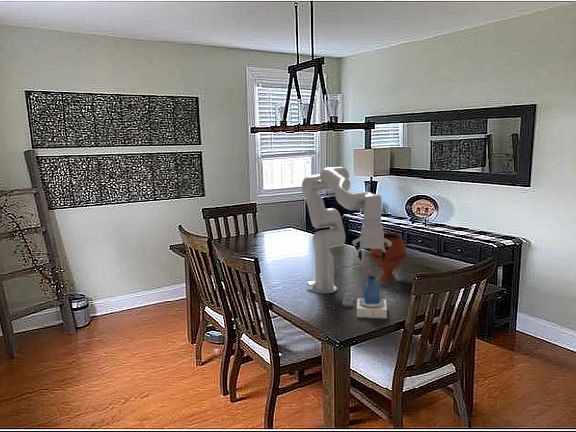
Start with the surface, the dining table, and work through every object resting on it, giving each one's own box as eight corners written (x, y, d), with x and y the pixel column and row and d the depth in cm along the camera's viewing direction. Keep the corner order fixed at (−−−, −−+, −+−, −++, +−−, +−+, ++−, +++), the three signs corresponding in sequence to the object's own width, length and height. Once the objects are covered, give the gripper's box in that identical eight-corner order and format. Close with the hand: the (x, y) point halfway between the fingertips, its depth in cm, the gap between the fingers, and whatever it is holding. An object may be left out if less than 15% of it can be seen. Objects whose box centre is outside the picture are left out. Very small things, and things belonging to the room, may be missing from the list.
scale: (356, 317, 207) (356, 308, 206) (357, 306, 220) (357, 297, 219) (386, 319, 205) (386, 309, 204) (385, 307, 218) (385, 298, 217)
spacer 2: (342, 307, 219) (342, 301, 219) (342, 303, 224) (342, 297, 224) (353, 308, 219) (353, 301, 218) (353, 304, 224) (353, 298, 223)
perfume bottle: (377, 298, 215) (377, 273, 213) (379, 303, 209) (379, 277, 207) (363, 298, 215) (363, 273, 213) (365, 303, 209) (365, 277, 207)
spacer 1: (343, 302, 226) (343, 296, 226) (343, 298, 231) (343, 292, 231) (353, 302, 225) (353, 296, 225) (353, 299, 230) (353, 293, 230)
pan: (359, 306, 208) (359, 305, 207) (359, 298, 218) (359, 296, 218) (384, 307, 206) (384, 306, 206) (383, 299, 216) (383, 297, 216)
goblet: (412, 278, 259) (413, 234, 254) (391, 286, 246) (392, 240, 242) (384, 271, 273) (385, 229, 269) (363, 279, 261) (363, 235, 256)
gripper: (352, 223, 204) (351, 261, 207) (392, 224, 201) (391, 262, 204) (352, 220, 211) (352, 257, 214) (392, 221, 208) (391, 258, 211)
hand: (371, 259), depth 209 cm, fingers open, 9 cm apart
